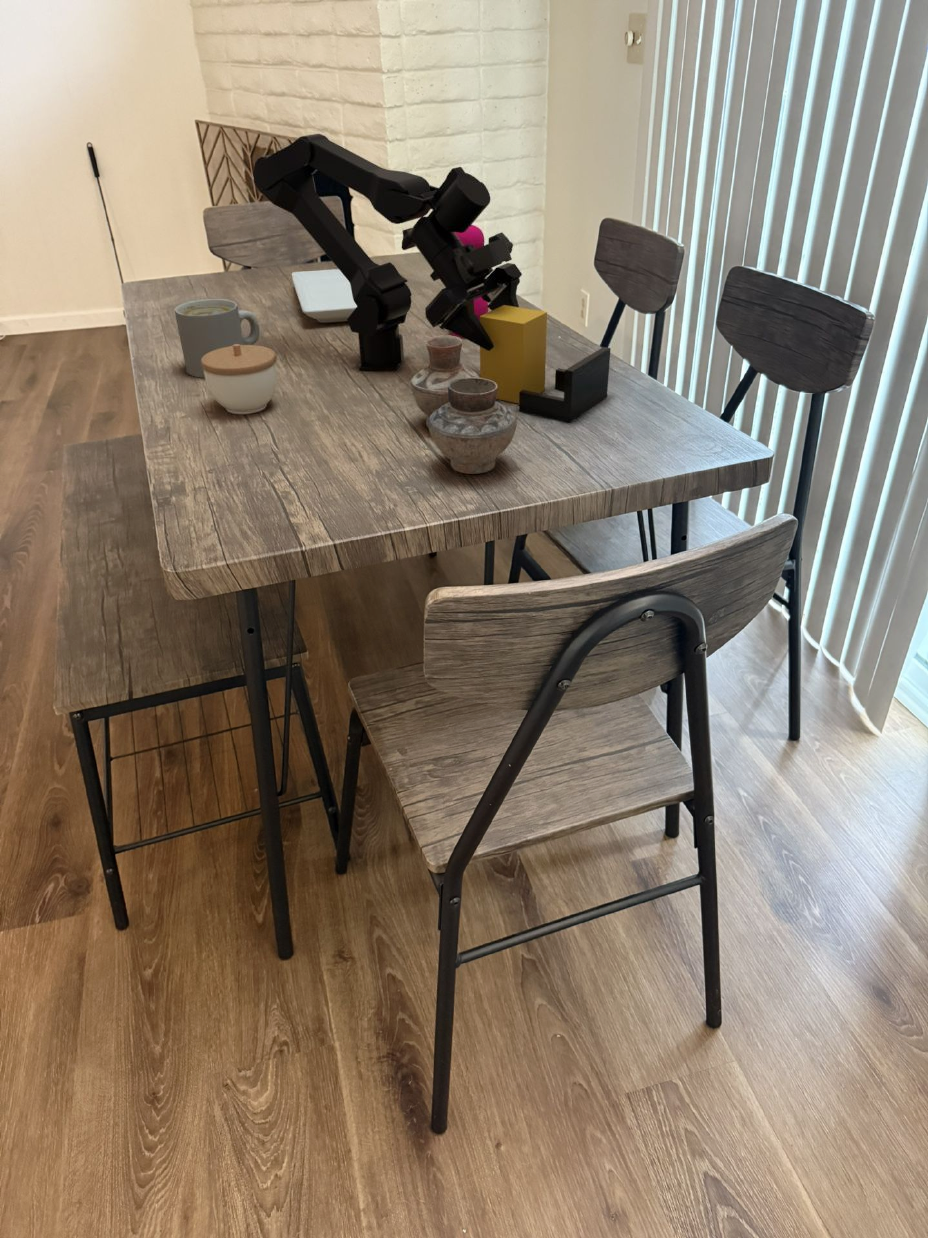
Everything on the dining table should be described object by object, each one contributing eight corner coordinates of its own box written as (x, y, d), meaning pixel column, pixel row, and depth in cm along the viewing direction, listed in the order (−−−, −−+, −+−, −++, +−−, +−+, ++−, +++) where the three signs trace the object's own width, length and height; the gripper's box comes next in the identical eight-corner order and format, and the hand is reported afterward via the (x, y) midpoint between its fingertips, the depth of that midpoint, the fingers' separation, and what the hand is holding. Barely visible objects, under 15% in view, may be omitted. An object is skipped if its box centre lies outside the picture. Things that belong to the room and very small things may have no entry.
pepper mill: (442, 336, 161) (438, 217, 150) (458, 325, 167) (455, 209, 156) (479, 340, 159) (478, 220, 148) (494, 329, 165) (494, 211, 153)
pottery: (473, 407, 133) (472, 326, 126) (528, 477, 113) (530, 385, 106) (399, 416, 130) (394, 334, 124) (441, 489, 111) (438, 396, 104)
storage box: (479, 395, 137) (478, 315, 130) (503, 381, 142) (503, 304, 135) (522, 404, 133) (523, 323, 127) (544, 390, 138) (547, 311, 131)
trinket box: (220, 425, 129) (209, 361, 124) (202, 402, 137) (190, 340, 131) (291, 411, 133) (283, 348, 128) (270, 389, 141) (261, 329, 135)
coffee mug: (193, 381, 144) (181, 319, 139) (181, 363, 152) (168, 303, 146) (274, 368, 149) (265, 307, 143) (257, 351, 157) (249, 292, 151)
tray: (369, 281, 195) (368, 265, 193) (394, 322, 169) (392, 303, 167) (292, 288, 192) (289, 271, 190) (304, 330, 166) (302, 311, 164)
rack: (518, 411, 131) (519, 360, 127) (557, 386, 139) (559, 338, 135) (569, 422, 127) (572, 371, 123) (607, 397, 135) (610, 347, 131)
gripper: (439, 228, 120) (508, 323, 121) (512, 205, 133) (573, 291, 134) (396, 281, 128) (461, 370, 129) (468, 254, 141) (526, 336, 142)
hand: (508, 340), depth 133 cm, fingers open, 9 cm apart
